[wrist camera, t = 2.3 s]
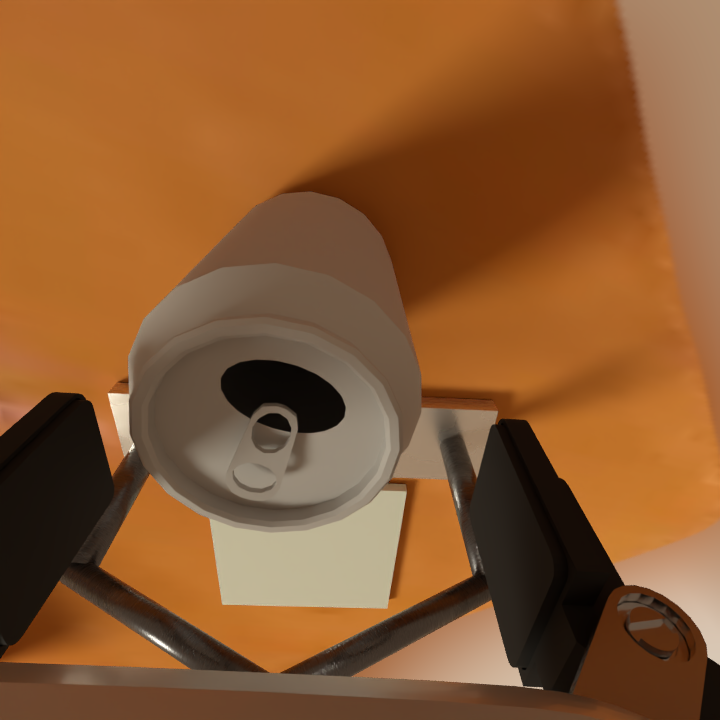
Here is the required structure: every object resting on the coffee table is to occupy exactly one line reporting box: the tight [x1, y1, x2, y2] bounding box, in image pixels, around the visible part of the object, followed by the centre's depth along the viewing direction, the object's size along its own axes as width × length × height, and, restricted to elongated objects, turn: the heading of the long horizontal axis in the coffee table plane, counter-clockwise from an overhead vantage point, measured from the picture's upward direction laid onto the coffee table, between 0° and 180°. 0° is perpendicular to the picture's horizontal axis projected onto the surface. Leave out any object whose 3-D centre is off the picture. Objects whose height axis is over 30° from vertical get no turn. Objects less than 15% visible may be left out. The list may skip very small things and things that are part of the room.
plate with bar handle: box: [60, 382, 498, 677], centre depth 19 cm, size 5×20×14 cm, turn 86°
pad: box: [210, 483, 407, 608], centre depth 29 cm, size 12×12×1 cm
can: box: [128, 191, 421, 533], centre depth 15 cm, size 8×8×12 cm
